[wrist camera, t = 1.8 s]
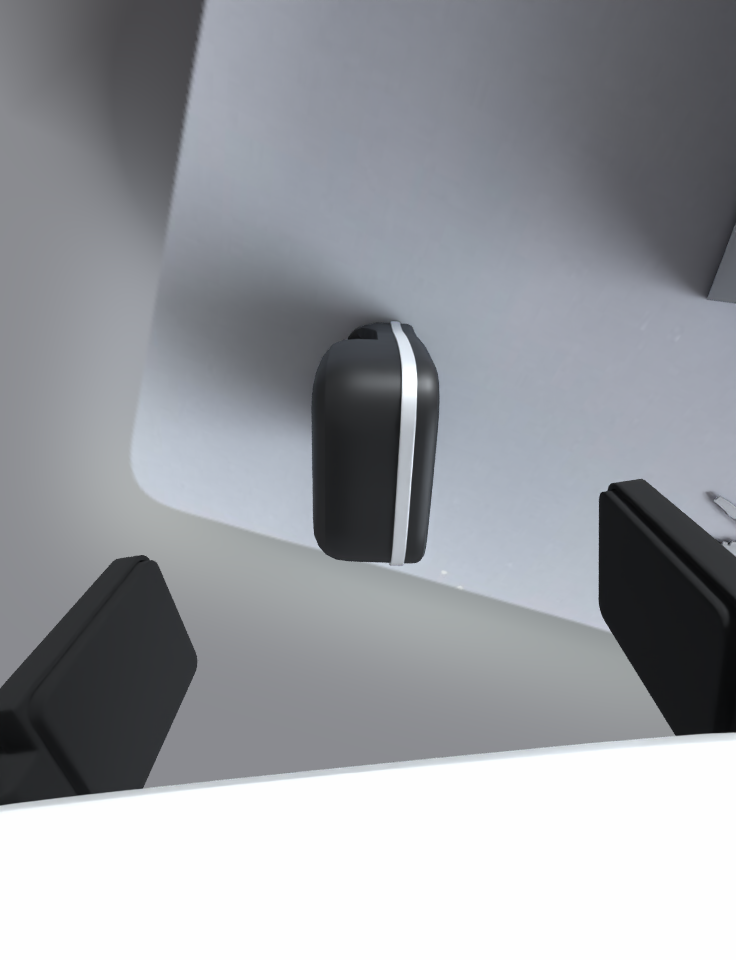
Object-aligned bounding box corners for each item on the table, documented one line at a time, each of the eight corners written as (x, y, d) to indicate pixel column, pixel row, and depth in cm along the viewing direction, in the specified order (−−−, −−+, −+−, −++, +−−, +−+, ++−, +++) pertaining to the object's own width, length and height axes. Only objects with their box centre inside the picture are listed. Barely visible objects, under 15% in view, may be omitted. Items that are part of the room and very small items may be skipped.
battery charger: (332, 314, 23) (298, 363, 13) (413, 317, 23) (446, 368, 13) (332, 453, 26) (304, 586, 15) (403, 456, 26) (424, 590, 15)
